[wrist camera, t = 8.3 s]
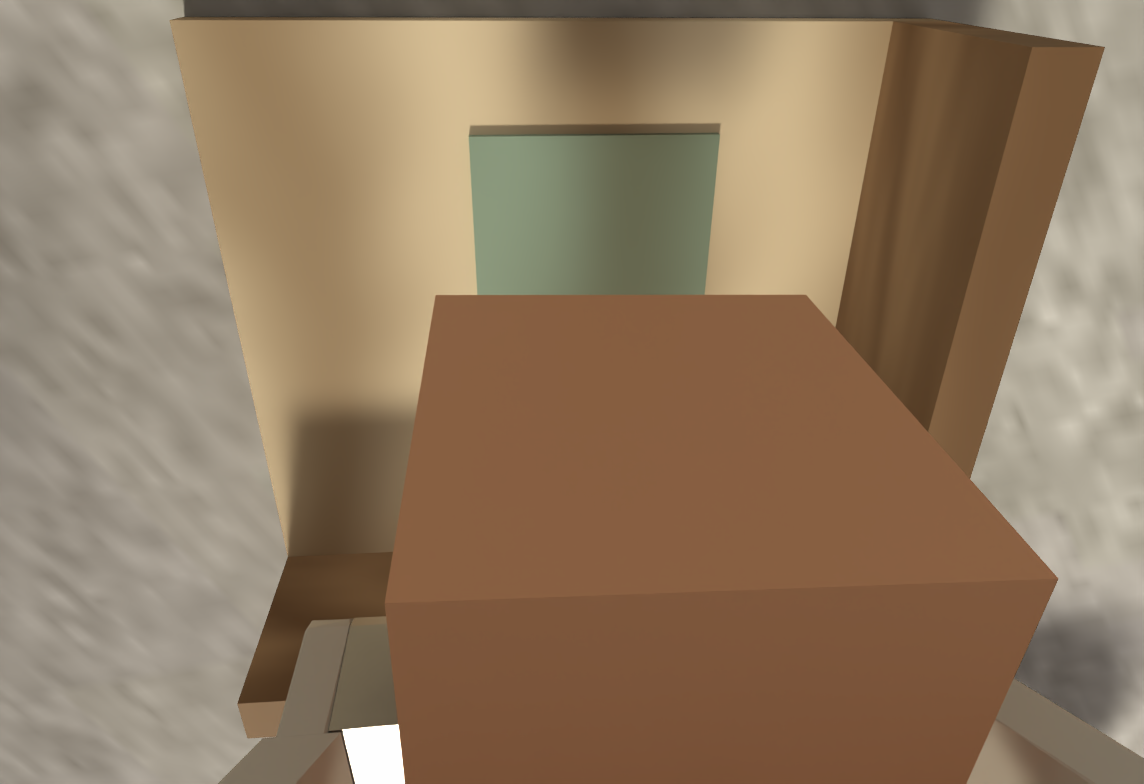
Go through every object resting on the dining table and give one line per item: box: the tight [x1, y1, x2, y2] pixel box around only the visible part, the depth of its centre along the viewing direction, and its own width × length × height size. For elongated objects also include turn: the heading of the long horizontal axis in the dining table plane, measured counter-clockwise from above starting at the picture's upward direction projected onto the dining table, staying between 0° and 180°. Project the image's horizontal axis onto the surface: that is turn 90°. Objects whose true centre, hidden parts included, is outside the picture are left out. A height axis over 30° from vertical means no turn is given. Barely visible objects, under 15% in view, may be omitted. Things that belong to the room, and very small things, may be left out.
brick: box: [385, 295, 1058, 784], centre depth 9 cm, size 8×4×5 cm, turn 178°
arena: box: [170, 17, 1105, 738], centre depth 18 cm, size 16×15×6 cm
